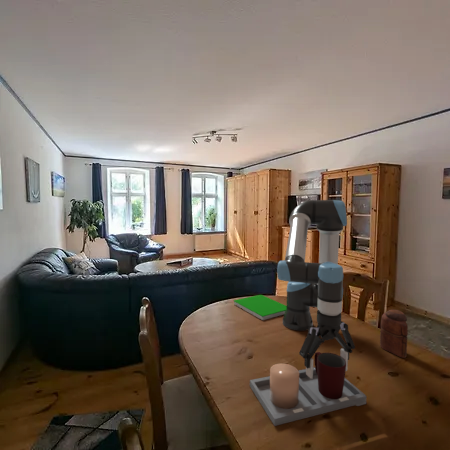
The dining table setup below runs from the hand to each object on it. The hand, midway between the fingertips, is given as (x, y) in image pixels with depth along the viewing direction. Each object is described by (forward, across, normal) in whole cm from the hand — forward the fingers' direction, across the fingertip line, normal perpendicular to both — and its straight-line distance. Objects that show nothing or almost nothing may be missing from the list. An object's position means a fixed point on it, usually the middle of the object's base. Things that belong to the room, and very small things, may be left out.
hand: (326, 372), depth 94 cm
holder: (+6, +8, 0) cm, 10 cm away
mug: (+6, 0, 0) cm, 6 cm away
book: (+8, -11, -74) cm, 75 cm away
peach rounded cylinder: (+5, +16, 0) cm, 17 cm away
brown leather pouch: (+7, -44, -13) cm, 46 cm away
